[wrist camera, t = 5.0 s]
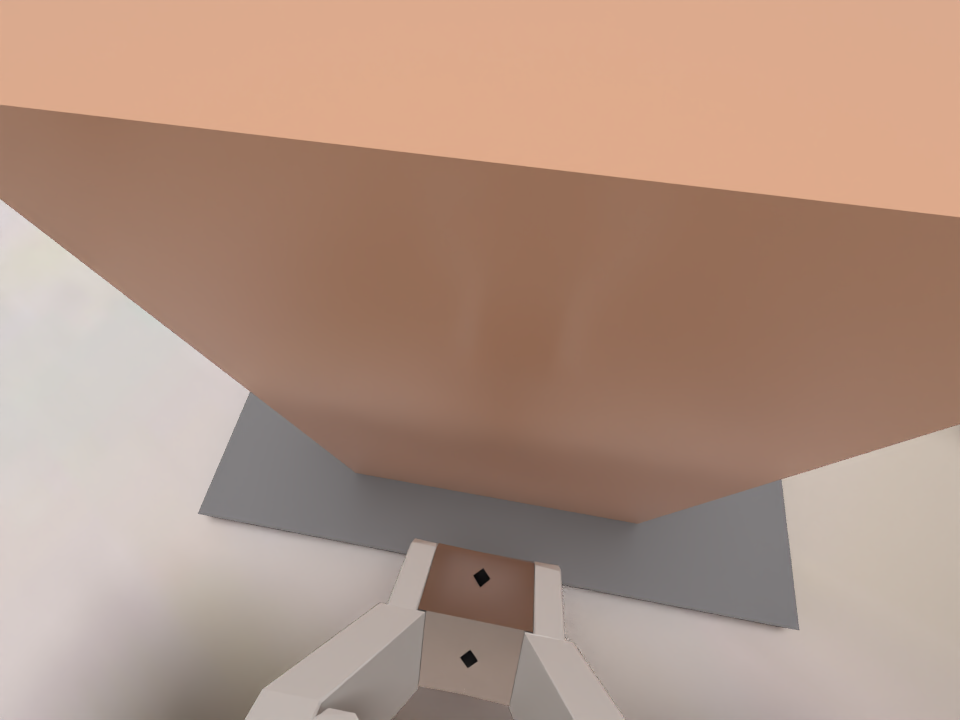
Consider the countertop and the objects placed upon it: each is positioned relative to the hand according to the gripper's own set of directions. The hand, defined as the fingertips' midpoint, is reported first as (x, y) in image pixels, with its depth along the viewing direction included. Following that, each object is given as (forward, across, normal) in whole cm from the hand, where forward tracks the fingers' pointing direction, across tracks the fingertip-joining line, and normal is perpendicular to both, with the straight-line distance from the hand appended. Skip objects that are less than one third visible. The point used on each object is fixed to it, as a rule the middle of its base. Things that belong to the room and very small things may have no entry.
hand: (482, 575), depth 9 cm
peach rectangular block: (+7, 0, +2) cm, 7 cm away
